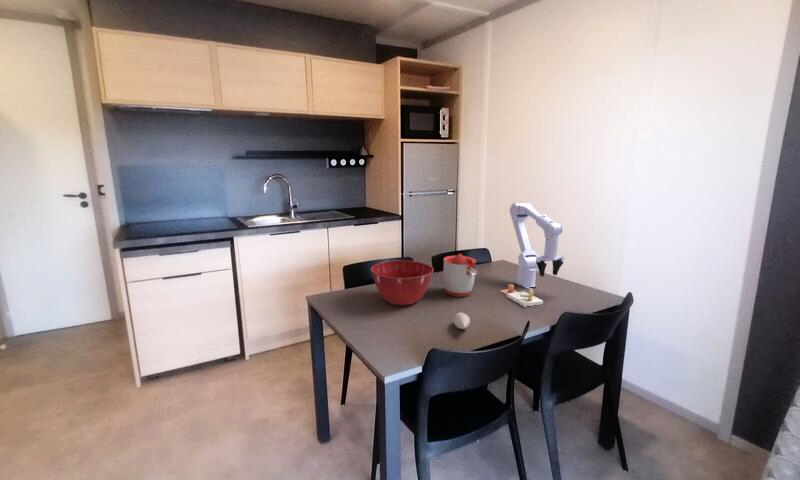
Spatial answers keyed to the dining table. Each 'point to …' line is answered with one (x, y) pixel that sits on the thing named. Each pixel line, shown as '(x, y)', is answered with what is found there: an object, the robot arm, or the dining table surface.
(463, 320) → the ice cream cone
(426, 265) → the mixing bowl
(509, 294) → the latch box
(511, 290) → the cover
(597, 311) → the dining table surface
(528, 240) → the robot arm
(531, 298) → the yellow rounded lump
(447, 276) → the citrus juicer
